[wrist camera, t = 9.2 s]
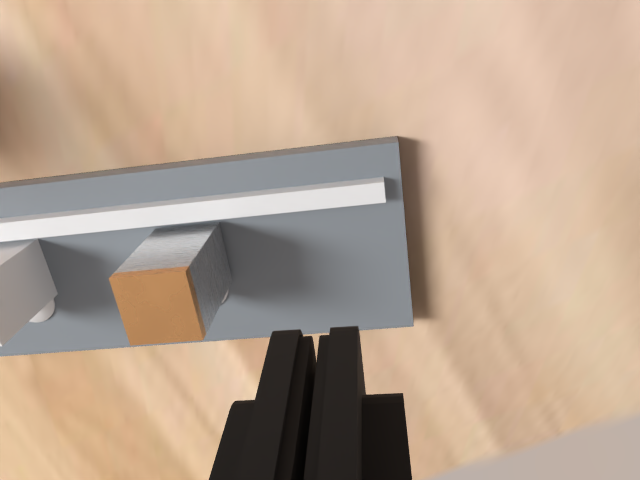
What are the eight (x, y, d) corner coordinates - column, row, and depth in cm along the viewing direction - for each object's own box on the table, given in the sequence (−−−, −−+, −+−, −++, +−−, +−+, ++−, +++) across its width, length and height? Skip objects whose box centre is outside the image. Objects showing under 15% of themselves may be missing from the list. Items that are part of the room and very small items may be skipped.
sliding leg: (155, 228, 33) (108, 278, 27) (219, 222, 33) (185, 271, 27) (174, 297, 35) (134, 358, 29) (234, 292, 34) (206, 353, 28)
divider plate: (-67, 190, 35) (-172, 235, 28) (397, 136, 32) (405, 173, 25) (0, 345, 40) (-77, 416, 33) (411, 314, 36) (422, 386, 29)
